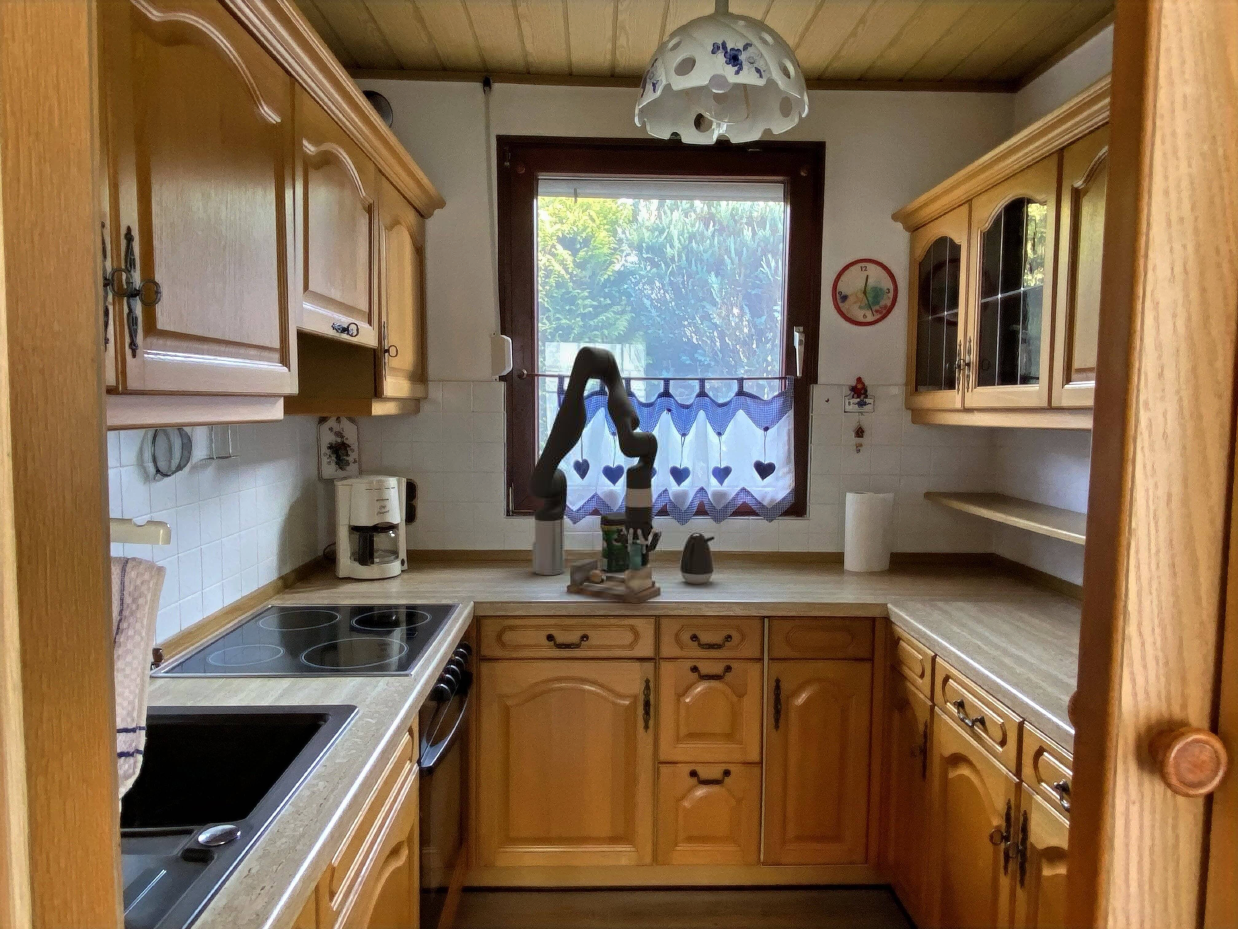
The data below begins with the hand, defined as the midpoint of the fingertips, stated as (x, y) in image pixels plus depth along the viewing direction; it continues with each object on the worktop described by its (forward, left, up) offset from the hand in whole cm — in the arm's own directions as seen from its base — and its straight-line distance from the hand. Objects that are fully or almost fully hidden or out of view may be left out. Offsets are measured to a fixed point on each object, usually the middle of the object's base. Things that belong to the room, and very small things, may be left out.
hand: (638, 565), depth 216 cm
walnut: (-14, 0, -7) cm, 16 cm away
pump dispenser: (+7, +24, -9) cm, 27 cm away
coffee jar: (-23, +26, -9) cm, 36 cm away
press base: (-8, 0, -9) cm, 12 cm away
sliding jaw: (0, 0, -7) cm, 7 cm away
